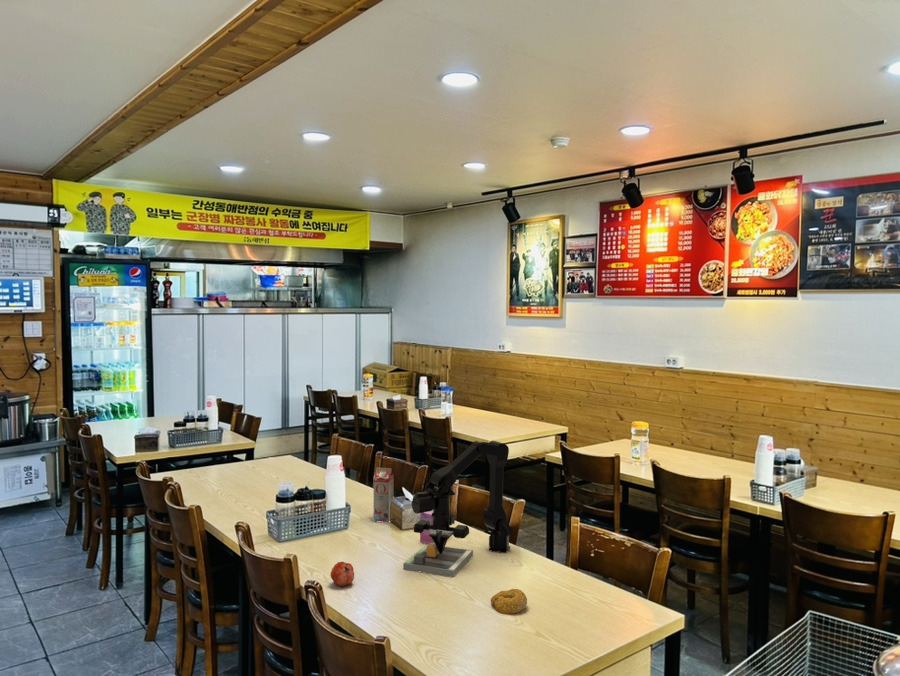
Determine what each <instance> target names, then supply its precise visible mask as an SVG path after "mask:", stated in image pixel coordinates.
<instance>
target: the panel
mask: <svg viewBox="0 0 900 676" xmlns="http://www.w3.org/2000/svg"><path fill="white" fill-rule="evenodd" d="M432 543H434V541H432ZM427 545H429V544H424V546H422V547H421V548H419V549H418V551H416V552H415V553H414V554H412V556H410V558H408V559H407V560H405V562H403V564H402V567H403V570H404V569H405V570H406V571H411V570H413V571H412V572H417V571H421V572H420V573H423V572H425V573H424V574H430V573H431V574H430V575H436V574H438V576H442V575H444V577H449V576H451V577H450V578H454V577H455V576H456V575H457V574H458V573H459V572H460V571H461V569H462V568H463V567H464V566H465V565H466V564H467V563H468V562H469V561H470V560H471V559H472V558H473V556H474V550H473V549H472V550H471V549H464V548H460V547H459V548H458V547H450V546H445V548H444V551H443V553H442V554H440V553H439V554H438V555H437V556H436V557H429V556H427ZM471 557H472V558H471ZM459 570H460V571H459Z"/></svg>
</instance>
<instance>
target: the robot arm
mask: <svg viewBox="0 0 900 676" xmlns="http://www.w3.org/2000/svg"><path fill="white" fill-rule="evenodd" d="M509 449H510V448H509V446H508V445H507V444H506V443H504V442H500V441H497V440H490V441H488V442H485V441H478V440H474V441H473V442H471V444H470V445H469V446H468V447H467V448H466V449H465V450H463V452H462V453H461V454H459V455H458V456H457V457H456V458H455V459H454V460H453V461H451V462H450V463H449V464H447V465H446V466H444V467H443V466H442V467H441V468H439V469H437V470H436V471H434V472H433V473H432V474H431V475H430V480H429V482H428V483H427V485H425V488H424V490H423V491H422V492H419V491H418V492H414V496H413V497H412V500H411V509H412V511H413V513H414V514H415V515H417V514H420V513H424V512H429V511H432V510H433V513H432V516H433V525H430V522H429V521H424V520H420V519H419V521H417V522H416V523H415V524H414V525H413V533H416V534H417V533H418V534H420V533H422V532H423V531H424V530H430V534H429V537H432V539H433V541H434V543H435V544H436V547H437V549H438V551H439V553H440V554H442V553H443V551H444V548H445V547H446V545H447V542H448V540H449V539H450V538H451V537H452V536H453V537H454V538H457V539H465V538H466V537H467V536H469V534H470V528H469V526H468V525H464V524H457V525H456V526H455V527H454V526H453V527H452V525H455V523H456V514H453V513H452V511H451V509H450V508H451V507H450V504H451V503H450V500H451V499H450V497H451V496H455V495H456V492H454V491H453V490H452V487H453V486H454V485H455V483H456V482H457V479H458V477H459V475H460V474H461V473H462V472H464V471H465V470H466V469H467V468H468V467H469V466H470V465H471V464H472V463H474V462H475V460H477V459H478V457H480V456H481V455H485V456H486V459H487V462H488V464H489V492H488V493H489V500H488V502H489V503H488V506H487V508H484V509H483V510H482V513H483V514H482V515H483V517H482V521H483V524H484V525H485V526H486V527H487V530H488V531H490V532H489V533H490V535H489V536H488V547H489V548H488V551H490V552H497V553H504V554H505V553H507V552H508V551H509V549H510V548H511V545H510V536H512V534H513V531H514V529H513V527H512V526H511V525H510V524H509V523H508V519H507V513H506V510H505V508H504V506H503V504H504V503H503V501H504V497H503V495H504V467H505V465H506V464H507V461H508V458H509V453H510V450H509ZM442 532H443V535H442Z"/></svg>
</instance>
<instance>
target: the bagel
mask: <svg viewBox="0 0 900 676" xmlns="http://www.w3.org/2000/svg"><path fill="white" fill-rule="evenodd" d="M490 603H491V605H492V606H493V607H494V608H495V609H496V610H495V611H498V612H499V613H501V614H505V615H507V614H508V615H513V614H517V613H519V612H522V611H524V610H525V608H526V607H527V605H528V598H527V595H526V594H525V592H524V591H523V590H521V589H518V588H511V589H508V590H500V591H498V592H496V593H495V595H493V596H491V598H490Z"/></svg>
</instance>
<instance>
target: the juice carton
mask: <svg viewBox="0 0 900 676" xmlns="http://www.w3.org/2000/svg"><path fill="white" fill-rule="evenodd" d="M394 476H395V475H394V473H393V472H392V467H391V468H389V467H375V473H374V475H373V522H374V521H383V522H389V521H390V505H391V500H392V499H393V500H394V478H395V477H394ZM390 522H391V521H390ZM390 522H389V523H390Z"/></svg>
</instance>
